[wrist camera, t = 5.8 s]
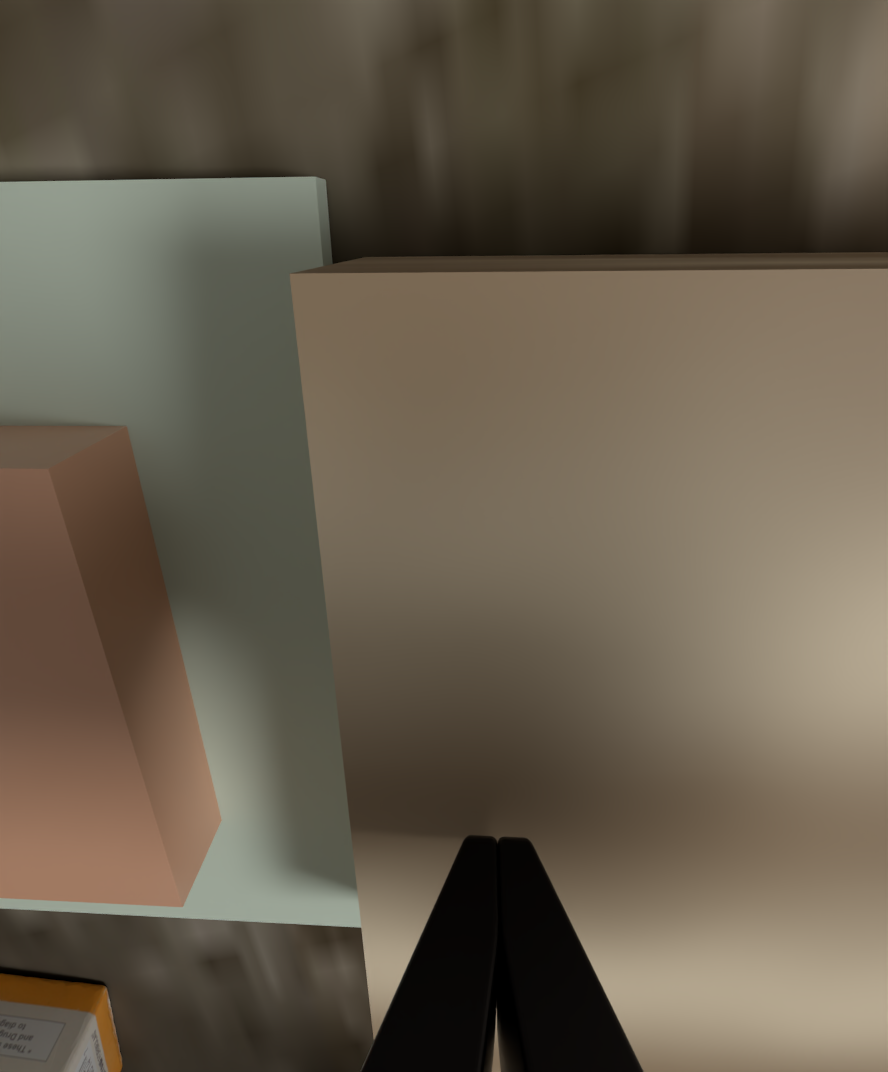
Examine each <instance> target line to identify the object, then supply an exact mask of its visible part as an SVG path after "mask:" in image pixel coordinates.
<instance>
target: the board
mask: <svg viewBox="0 0 888 1072" xmlns="http://www.w3.org/2000/svg"><path fill="white" fill-rule="evenodd" d="M289 275H290V284H291V293H292V302H293V311H294V320H295V329H296V338H297V347H298V356H299V365H300V374H301V384H302V393H303V402H304V411H305V420H306V429H307V438H308V447H309V456H310V465H311V474H312V483H313V493H314V502H315V511H316V520H317V529H318V538H319V547H320V556H321V565H322V574H323V583H324V592H325V602H326V611H327V620H328V629H329V638H330V647H331V656H332V665H333V674H334V683H335V692H336V701H337V711H338V720H339V729H340V738H341V747H342V756H343V765H344V774H345V783H346V792H347V801H348V810H349V820H350V829H351V838H352V847H353V856H354V865H355V874H356V883H357V892H358V901H359V910H360V920H361V929H362V938H363V947H364V956H365V965H366V974H367V983H368V992H369V1001H370V1010H371V1019H372V1029H373V1038H374V1039H375V1037H376V1035H377V1032H378V1030H379V1028H380V1026H381V1023H382V1021H383V1019H384V1017H385V1014H386V1012H387V1010H388V1008H389V1005H390V1003H391V1001H392V999H393V997H394V994H395V992H396V990H397V988H398V985H399V983H400V981H401V979H402V976H403V974H404V972H405V970H406V967H407V965H408V963H409V961H410V958H411V956H412V954H413V952H414V950H415V947H416V945H417V943H418V941H419V938H420V936H421V934H422V932H423V929H424V927H425V925H426V923H427V920H428V918H429V916H430V914H431V911H432V909H433V907H434V905H435V902H436V900H437V898H438V896H439V894H440V891H441V889H442V887H443V885H444V882H445V880H446V878H447V876H448V873H449V871H450V869H451V867H452V864H453V862H454V860H455V858H456V855H457V853H458V851H459V849H460V847H461V844H462V842H463V840H464V839H465V838H466V837H467V836H468V835H482V836H493V837H494V838H496V840H497V844H498V840H499V838H501V837H503V836H505V837H525V838H528V839H529V840H530V841H531V842H532V844H533V846H534V848H535V850H536V852H537V854H538V856H539V858H540V860H541V862H542V864H543V866H544V868H545V870H546V872H547V874H548V876H549V878H550V880H551V882H552V885H553V887H554V889H555V891H556V893H557V895H558V897H559V899H560V901H561V903H562V905H563V907H564V909H565V911H566V913H567V915H568V917H569V919H570V921H571V923H572V925H573V928H574V930H575V932H576V934H577V936H578V938H579V940H580V942H581V944H582V946H583V948H584V950H585V952H586V954H587V956H588V958H589V960H590V962H591V964H592V966H593V968H594V970H595V973H596V975H597V977H598V979H599V981H600V983H601V985H602V987H603V989H604V991H605V993H606V995H607V997H608V999H609V1001H610V1003H611V1005H612V1007H613V1009H614V1011H615V1013H616V1016H617V1018H618V1020H619V1022H620V1024H621V1026H622V1028H623V1030H624V1032H625V1034H626V1036H627V1038H628V1040H629V1042H630V1044H631V1046H632V1048H633V1050H634V1052H635V1054H636V1056H637V1058H638V1061H639V1063H640V1065H641V1067H642V1069H643V1071H644V1072H888V252H839V253H735V254H631V255H527V256H424V257H363V258H359V259H354V260H350V261H345V262H340V263H336V264H331V265H327V266H322V267H317V268H313V269H308V270H304V271H299V272H294V273H290V274H289ZM492 1072H501V1068H500V1058H499V1047H498V1035H497V1011H496V1028H495V1042H494V1055H493V1065H492Z"/></svg>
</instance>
